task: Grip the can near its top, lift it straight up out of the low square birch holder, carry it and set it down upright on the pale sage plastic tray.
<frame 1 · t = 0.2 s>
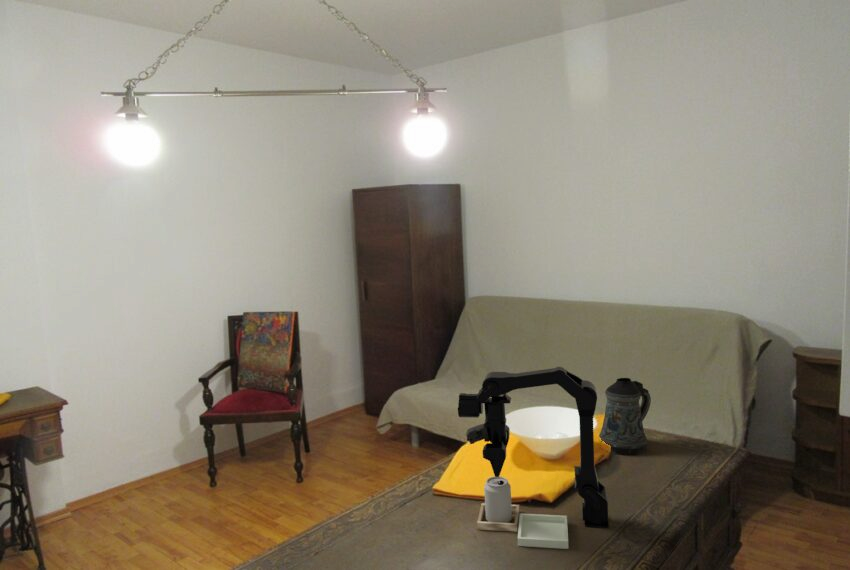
hand: (498, 469, 170), 14 cm above the table, fingers open, 9 cm apart
beer stein: (624, 445, 216), on the table
can: (498, 520, 169), resting in holder
tray: (543, 533, 160), on the table
holder: (498, 520, 169), on the table
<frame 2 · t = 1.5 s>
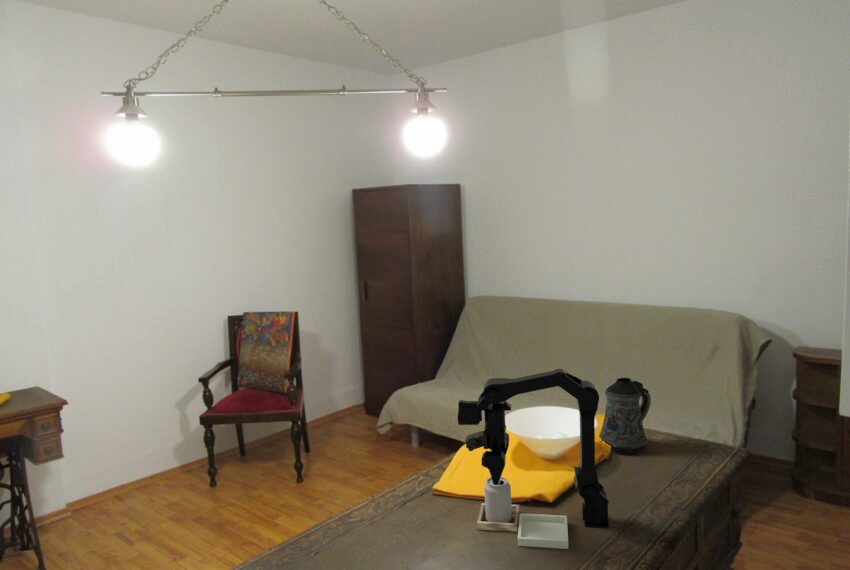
hand: (497, 477, 168), 13 cm above the table, fingers open, 9 cm apart
nothing on the table moved.
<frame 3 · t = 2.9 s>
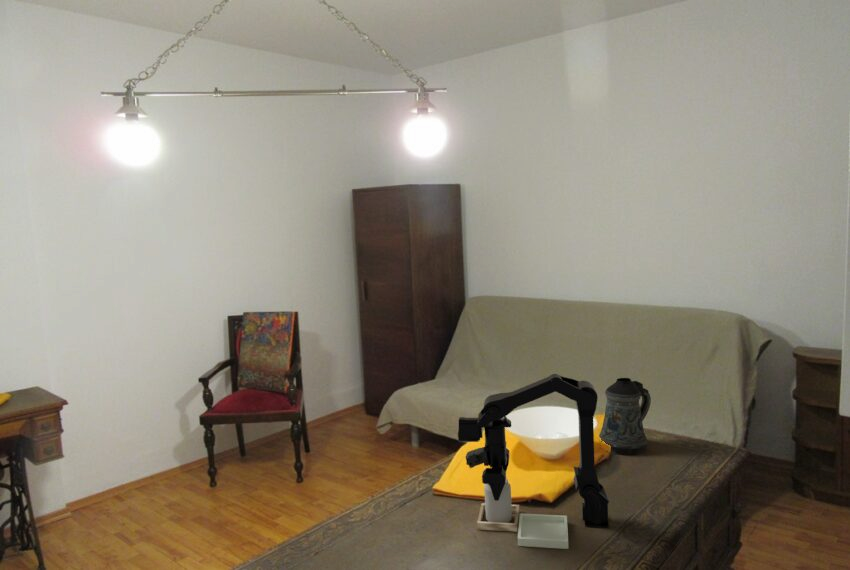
hand: (497, 493, 168), 8 cm above the table, fingers closed on can, 7 cm apart
can: (499, 520, 169), resting in holder, touching gripper
everything else where it was.
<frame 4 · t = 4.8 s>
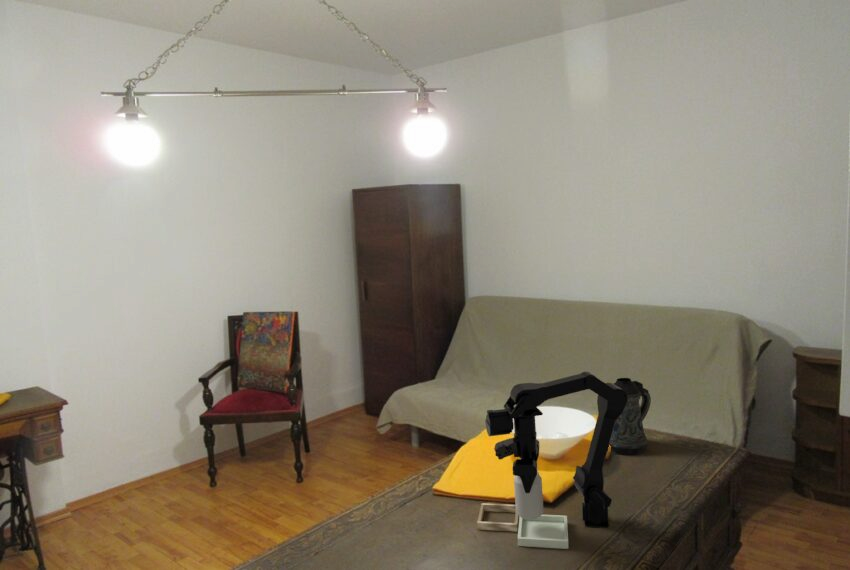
hand: (528, 486, 162), 13 cm above the table, fingers closed on can, 7 cm apart
can: (529, 514, 163), point 4 cm above the table, touching gripper
everything else where it was.
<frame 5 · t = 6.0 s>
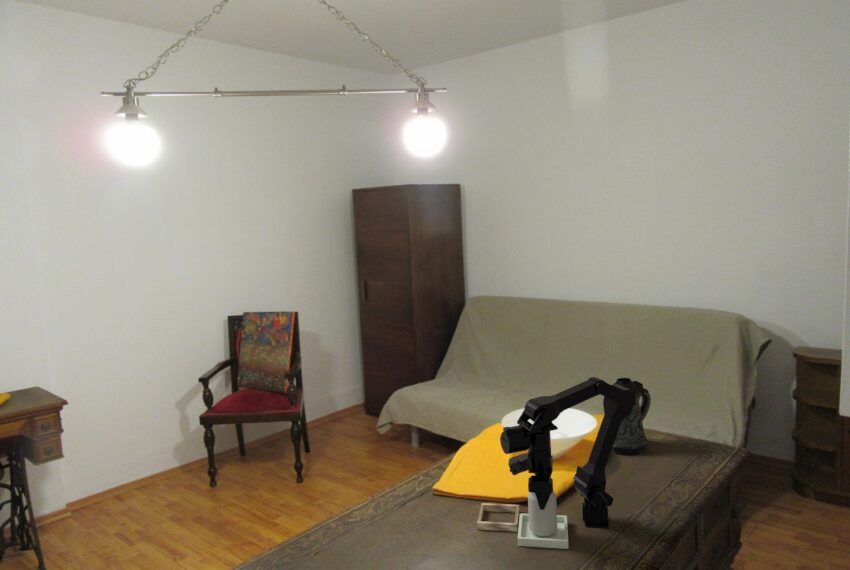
hand: (542, 502, 159), 9 cm above the table, fingers closed on can, 7 cm apart
can: (543, 531, 160), point 1 cm above the table, touching gripper
everything else where it was.
when the fingers open (9 cm above the table, at t = 6.8 s): can stays where it is, resting on tray.
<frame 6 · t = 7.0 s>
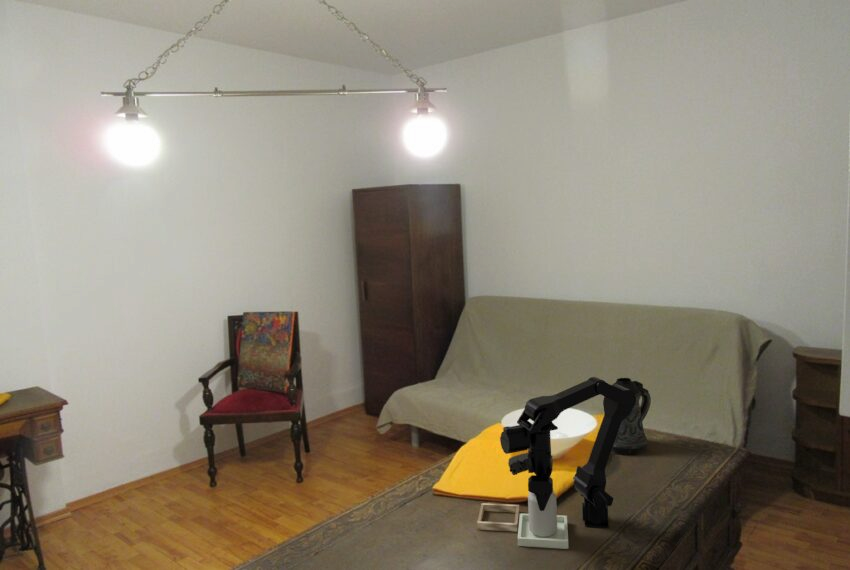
hand: (542, 501, 159), 9 cm above the table, fingers open, 9 cm apart
can: (543, 532, 160), resting on tray
everything else where it was.
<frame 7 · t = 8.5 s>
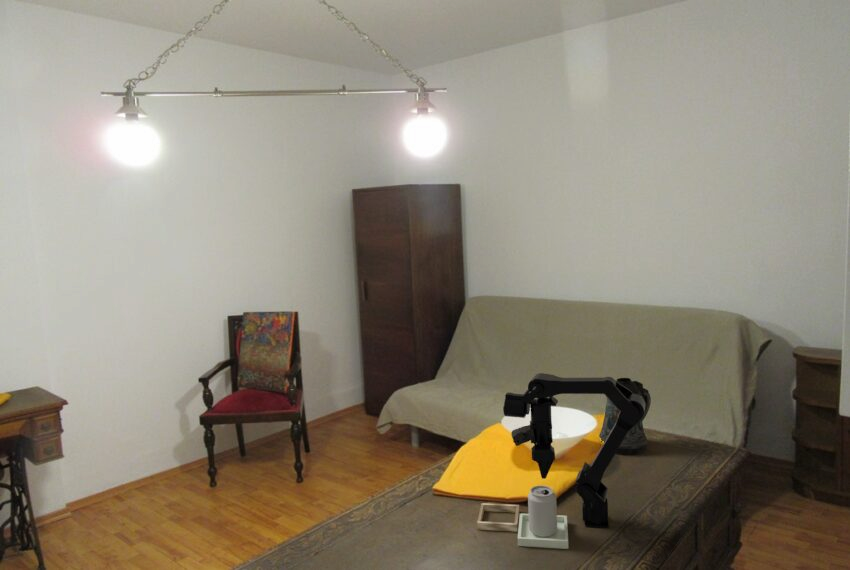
hand: (543, 471, 169), 13 cm above the table, fingers open, 9 cm apart
nothing on the table moved.
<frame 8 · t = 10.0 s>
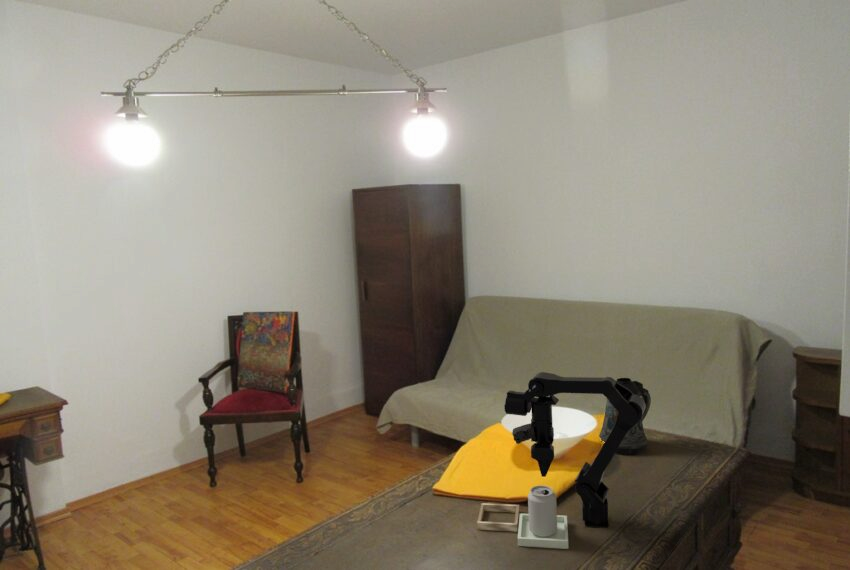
hand: (543, 469, 170), 13 cm above the table, fingers open, 9 cm apart
nothing on the table moved.
at the end: can inside the target area on the tray (0.1 cm from its centre), point 0.4 cm above the tray's base; can tilted 0°; the gripper is holding nothing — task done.
